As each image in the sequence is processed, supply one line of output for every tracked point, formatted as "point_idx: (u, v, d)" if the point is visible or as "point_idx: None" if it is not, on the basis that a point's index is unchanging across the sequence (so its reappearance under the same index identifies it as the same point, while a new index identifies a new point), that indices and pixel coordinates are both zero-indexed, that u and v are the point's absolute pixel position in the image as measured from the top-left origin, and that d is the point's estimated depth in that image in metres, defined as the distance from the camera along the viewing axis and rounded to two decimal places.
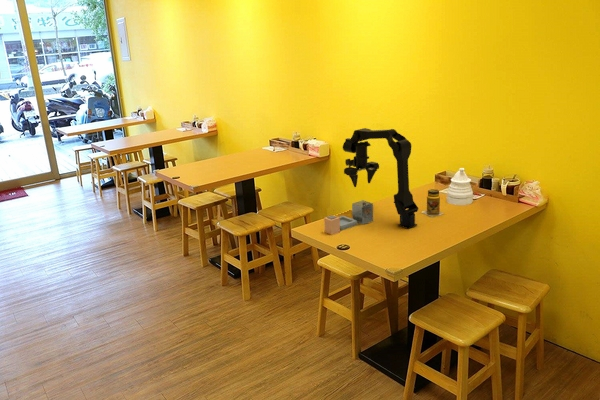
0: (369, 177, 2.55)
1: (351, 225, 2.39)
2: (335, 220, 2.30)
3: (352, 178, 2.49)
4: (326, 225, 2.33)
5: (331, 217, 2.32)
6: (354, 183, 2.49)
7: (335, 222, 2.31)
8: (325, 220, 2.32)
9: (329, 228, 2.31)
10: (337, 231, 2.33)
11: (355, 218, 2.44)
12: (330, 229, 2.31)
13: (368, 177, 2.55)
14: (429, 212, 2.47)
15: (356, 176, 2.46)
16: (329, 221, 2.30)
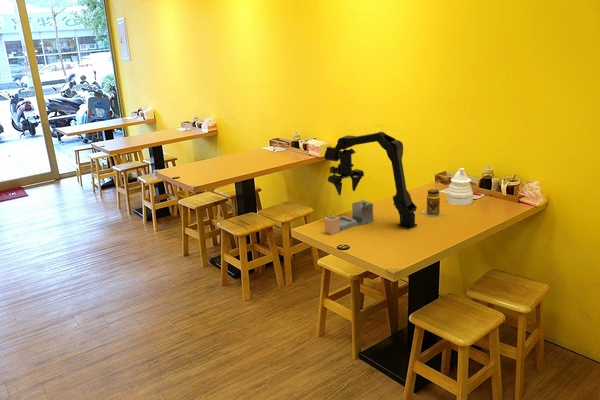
0: (354, 185, 2.51)
1: (351, 225, 2.39)
2: (335, 220, 2.30)
3: (336, 186, 2.46)
4: (326, 225, 2.33)
5: (331, 217, 2.32)
6: (338, 191, 2.46)
7: (335, 222, 2.31)
8: (325, 220, 2.32)
9: (329, 228, 2.31)
10: (337, 231, 2.33)
11: (355, 218, 2.44)
12: (330, 229, 2.31)
13: (353, 185, 2.52)
14: (429, 212, 2.47)
15: (340, 184, 2.43)
16: (329, 221, 2.30)
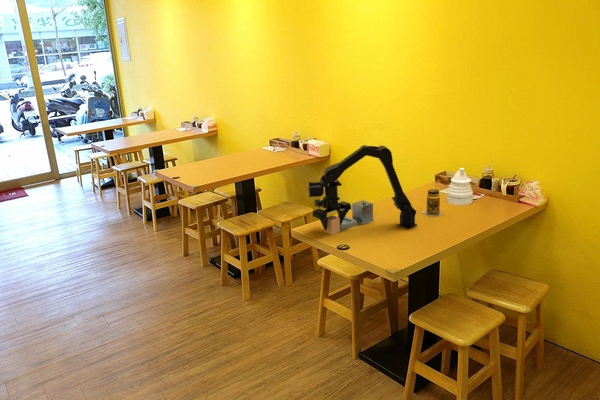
0: (340, 219, 2.35)
1: (351, 225, 2.39)
2: (335, 220, 2.30)
3: (322, 221, 2.30)
4: None
5: (331, 217, 2.32)
6: (324, 226, 2.30)
7: (335, 222, 2.31)
8: None
9: (329, 228, 2.31)
10: (337, 231, 2.33)
11: (355, 218, 2.44)
12: (330, 229, 2.31)
13: None
14: (429, 212, 2.47)
15: (326, 219, 2.27)
16: (329, 221, 2.30)
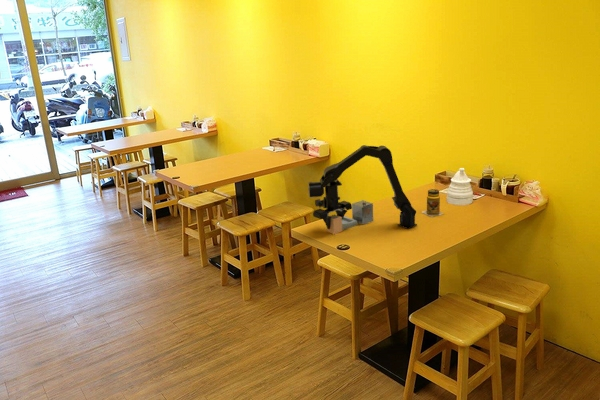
0: None
1: (351, 225, 2.39)
2: (337, 219, 2.31)
3: (325, 220, 2.31)
4: None
5: (333, 216, 2.32)
6: (327, 225, 2.31)
7: (337, 221, 2.31)
8: None
9: (331, 227, 2.32)
10: (339, 230, 2.33)
11: (355, 218, 2.44)
12: (332, 228, 2.31)
13: None
14: (429, 212, 2.47)
15: (329, 218, 2.28)
16: (331, 220, 2.31)
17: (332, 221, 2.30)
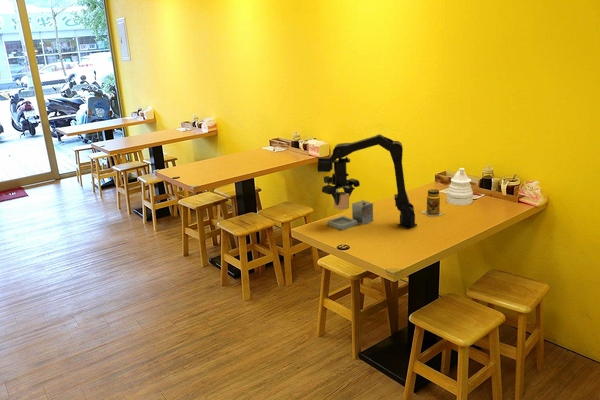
0: None
1: (351, 225, 2.39)
2: (345, 196, 2.35)
3: (334, 196, 2.35)
4: None
5: (341, 193, 2.37)
6: (336, 201, 2.36)
7: (345, 198, 2.36)
8: None
9: (339, 203, 2.36)
10: (346, 207, 2.38)
11: (355, 218, 2.44)
12: (339, 204, 2.36)
13: None
14: (429, 212, 2.47)
15: (338, 194, 2.32)
16: None
17: (340, 197, 2.35)
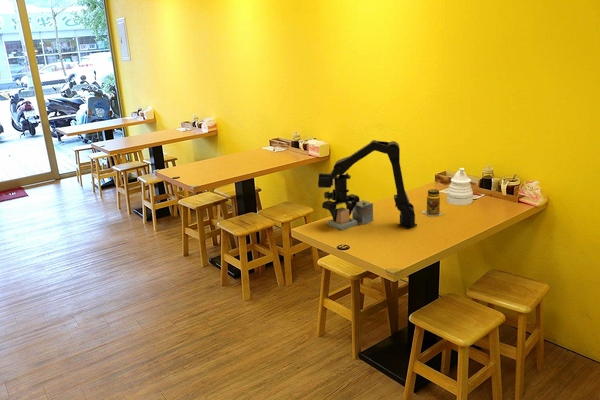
0: None
1: (351, 225, 2.39)
2: (345, 212, 2.38)
3: (332, 212, 2.37)
4: None
5: (341, 209, 2.39)
6: (334, 217, 2.37)
7: (345, 214, 2.38)
8: None
9: (339, 219, 2.38)
10: (347, 222, 2.40)
11: (355, 218, 2.44)
12: (340, 220, 2.38)
13: None
14: (429, 212, 2.47)
15: (336, 210, 2.34)
16: (339, 213, 2.37)
17: (340, 213, 2.37)
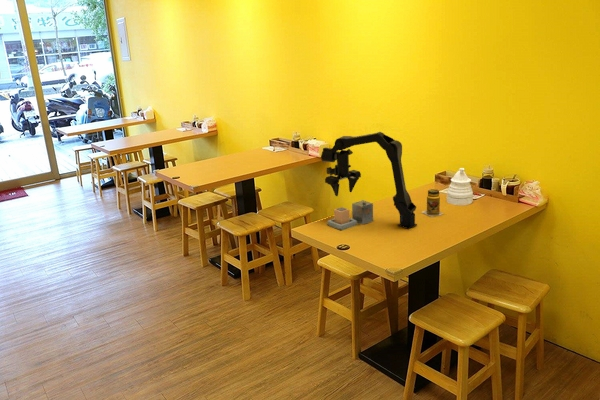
0: (351, 186, 2.49)
1: (351, 225, 2.39)
2: (345, 212, 2.38)
3: (333, 187, 2.43)
4: (336, 217, 2.40)
5: (341, 209, 2.39)
6: (335, 192, 2.44)
7: (345, 214, 2.38)
8: (335, 212, 2.40)
9: (339, 219, 2.38)
10: (347, 222, 2.40)
11: (355, 218, 2.44)
12: (340, 220, 2.38)
13: (350, 186, 2.50)
14: (429, 212, 2.47)
15: (337, 185, 2.40)
16: (339, 213, 2.37)
17: (340, 213, 2.37)
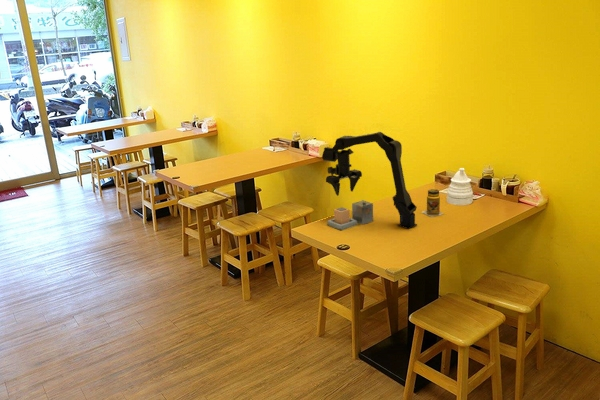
0: (352, 185, 2.51)
1: (351, 225, 2.39)
2: (345, 212, 2.38)
3: (334, 186, 2.45)
4: (336, 217, 2.40)
5: (341, 209, 2.39)
6: (336, 191, 2.45)
7: (345, 214, 2.38)
8: (335, 212, 2.40)
9: (339, 219, 2.38)
10: (347, 222, 2.40)
11: (355, 218, 2.44)
12: (340, 220, 2.38)
13: (351, 185, 2.51)
14: (429, 212, 2.47)
15: (338, 184, 2.42)
16: (339, 213, 2.37)
17: (340, 213, 2.37)
